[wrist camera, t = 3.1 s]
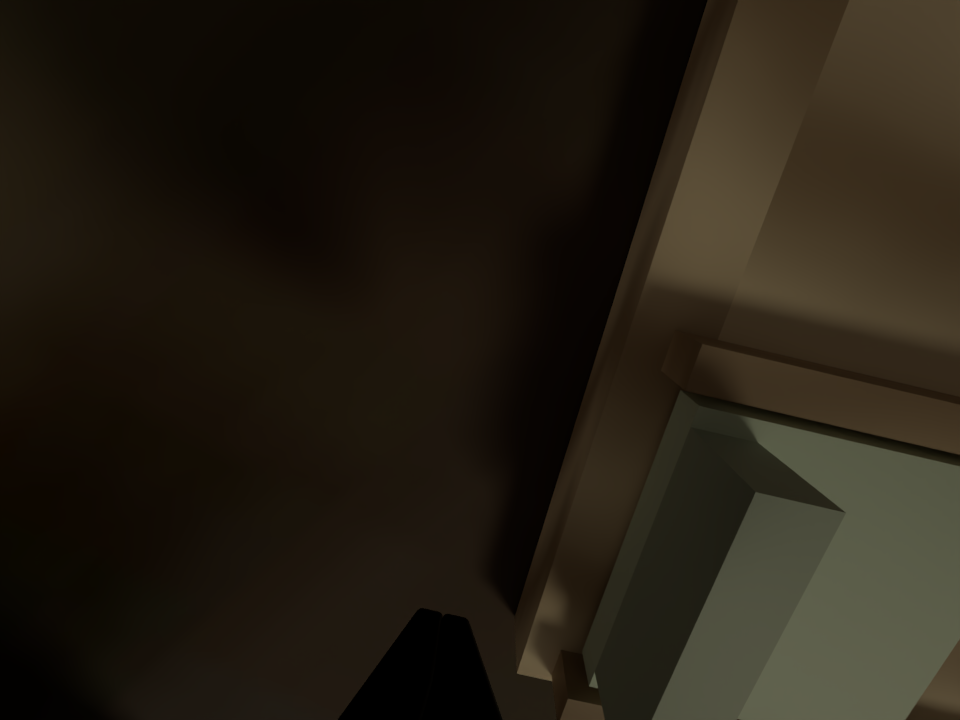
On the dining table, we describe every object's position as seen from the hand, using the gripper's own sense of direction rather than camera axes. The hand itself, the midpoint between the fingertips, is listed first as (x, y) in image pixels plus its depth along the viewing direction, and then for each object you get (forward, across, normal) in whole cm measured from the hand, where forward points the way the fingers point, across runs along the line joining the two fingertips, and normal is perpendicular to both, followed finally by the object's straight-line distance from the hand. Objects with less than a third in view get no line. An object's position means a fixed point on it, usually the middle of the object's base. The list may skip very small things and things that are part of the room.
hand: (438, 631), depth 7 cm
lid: (+4, -8, 0) cm, 9 cm away
